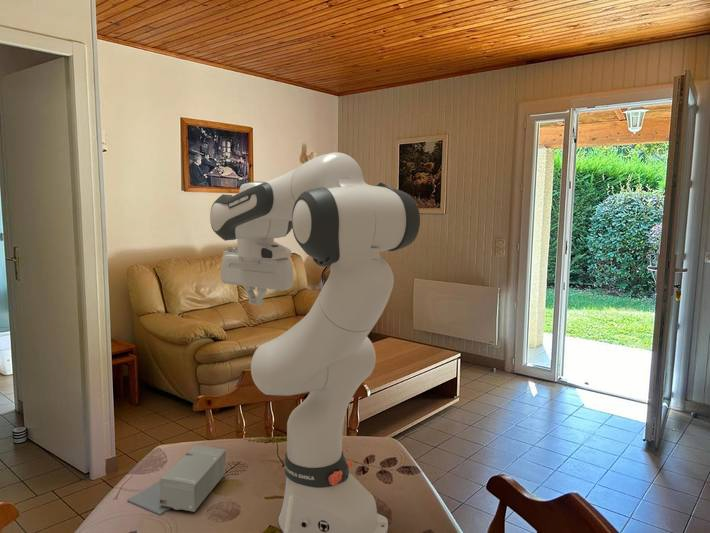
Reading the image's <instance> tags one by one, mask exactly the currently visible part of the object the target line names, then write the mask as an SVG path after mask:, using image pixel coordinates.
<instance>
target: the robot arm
mask: <svg viewBox="0 0 710 533" xmlns="http://www.w3.org/2000/svg"><path fill="white" fill-rule="evenodd" d="M209 214H210V215H209V220H210V226H211V229H212V230H213V232H214V233H215V234H216V235H217V236H218V237H219V238H220V239H222V240H224V241H234V240H237V242H236V244H237V247H232V246H229V247H227V248H225V249H224V251H223V252H222V262H221V269H220V280H221V282H222V283H223V284H226V285H234V286H240V287H241V286H244V290H245V292H246V294H247V295H246V296H247V297H248V302H249V303H248V304H249V305H252V306H262V305H263V304H264V297H265V295H266V294H267V291H268V290H274V291H281V292H283V291H288V290H290V289H292V287H293V285H294V268H293V263H292V261H291V259H289V258H291V257H292V250H291V249H290V248H289V247H287V246H284V245H283V244H281V243H278V242H277V241H275V239H280V238H285V237H286V236H287V235H289V233H291V230H292V233H293V236H294V239H295V241H296V243H297V244H298V245H299V247H300V248H301V249H302V250H303V252H305V254H307V255H308V256H310V257H311V258H312V260H313V262H314V263H315V264H316V265H318V266H320V267H322V268H328V267H329V268H330V272H329V275H328V277H327V280H326V281H325V283H324V284H323V286H322V288H321V290H320V292H319V294H318V295H317V298H316V300H315V301H314V303H313V304H312V306H311V308H310V309H309V311H308V312H307V313H306V315H305V316H304V317H303V318H301V319H300V320H299V321H298V322H297V323H296V324H294V325H293V326H291V327H290V328H289V329H287V330H286V331H285V332H283V333H282V334H280V335H279V336H277V337H274V338H273V339H271V340H268V341H267V342H264V343H262V344H259V345H258V347H257V348H256V349H255V351H254V352H253V355H252V358H251V363H250V373H251V378H252V381H253V383H254V385H255V387H257V389H258V390H259V391H260V392H261V393H263V394H264V395H267V396H295V395H300V394H306V393H309V394H308V395H307V397H306V398H305V399H304V400H303V401H302V402H301V403H300V404H299V405H298V406H296V407H295V408H293V410H291V413H290V415H289V417H288V419H287V423H286V433H287V434H286V438H287V439H286V452H285V453H284V454H285V455H284V474H285V476H286V480H285V488H284V495H283V496H284V497H283V502H282V507H281V510H280V513H279V516H278V524H279V525H278V526H279V527H280V529H281V530H282V533H388V531H389V521H388V518H387V517H385V516H384V515H382V514H380V513H378V508H377V502H376V499H375V497H374V495H373V494H372V493H371V492H370V491H368V489H367V488H366V487H364V485H362V484H361V482H360V481H359V480H358V479H356V477H355V476H354V475H353V474H352V473H350V468H351V467H353V465H354V463H353V461H354V459H351V460H349V461H348V462H347V460H346V457H345V454H344V451H343V450H342V448H343V447H342V446H343V432H344V423H345V416H346V413H347V409H348V407H349V405H350V402H351V401H352V398H353V397H354V395H355V393H356V392H357V390H358V388H359V387H360V386H361V385H362V383H363V382H364V381H366V380H367V379H368V378H369V377H370V376H371V375H372V373H373V371H374V369H375V366H376V361H377V360H376V357H377V356H376V355H377V354H376V349H375V346H374V345H373V341H371V339H370V338H369V337H368V336H369V334H370V333H371V331H372V330H373V328H374V327H375V325H376V324H377V323H378V321H379V319H380V317H381V316H382V314H383V313H384V310H385V308H386V306H387V304H388V302H389V299H390V297H391V294H392V291H393V289H394V288H393V287H394V283H395V282H394V280H395V279H394V278H395V276H394V273H393V271H392V267H391V266H390V264H389V263H388V262H387V261H386V260H385V259H384V258H383V257H382V256H381V254H380V253H381V252H386V251H387V252H394V251H399V250H401V249H404V248H406V247H408V246H410V245H411V244H412V243H414V241H415V240H416V239H417V236H418V234H419V230H420V227H421V215H420V210H419V207H418V205H417V202H416V201H415V199H414V198H413V197H412V196H411V195H410V194H409V193H408V192H405V191H403V190H400V189H398V188H397V189H396V188H395V187H391V186H389V185H388V184H386V183H384V182H379V183H378V184H377V185H370V184H368V183H366V182H365V179H364V174H363V170H362V169H361V166H360V165H359V163H358V162H357V161H356V160H355V158H353V157H351V155H348V154H346V153H343V152H329V153H325V154H321V155H318V156H316V157H312V158H311V159H310V160H307V161H305V162H304V163H302V164H301V165H299V166H297V167H296V168H294V169H292V170H290V171H288V172H286V173H284V174H282V175H279V176H277V177H275V178H272V179H270V180H268V181H248V182H244V183H243V184H241V185H240V187H239V190H238V193H237V194H234V195H233V194H222V195H220V196H219V197H217V199H215V200H214V202H213V203H212V205H211V208H210V213H209ZM254 290H256V292H258V293H257V296H256V294H255V291H254Z"/></svg>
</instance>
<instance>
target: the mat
mask: <svg viewBox="0 0 710 533" xmlns="http://www.w3.org/2000/svg"><path fill="white" fill-rule="evenodd" d="M126 500H127V502H128V503H130V504H133V505H135V506H137V505H138V506H137V507H139V506H140V507H139V508H141V507H142V508H141V509H144V510H146V511H149V512H151V513H153V514H156V515H157V516H162V515H163V514H165V513H166V512H168V511H170V510H171V509H173V508H172V507H166V506H161V505H159V503H160V480H159V481H158V482H156V483H154V484H152V485H150V486H149V487H146V488H145V489H143V490H142V491H140V492H138V493H136V494H135V495H133V496H132V497H129V498H128V499H126Z"/></svg>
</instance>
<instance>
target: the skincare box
mask: <svg viewBox="0 0 710 533" xmlns="http://www.w3.org/2000/svg"><path fill="white" fill-rule="evenodd" d="M226 454H227V450H226V449H221V448H217V447H210V446H205V445H193V447H192V448H191V449H190V450H189V451H187V452H186V453H185V454H184V455H182V457H181V458H180V459H179V460H178V461H177V462H176V463H175V464H174V465H173V466H172V467H170V468H169V470H168V471H167V472H165V473H164V474H163V476H161V477H160V479H159V481H160V503H159V505H161V506H166V507H172V508H171V509H174V510H176V511H179V510H183V511H189V512H194V513H195V512H196V511H197V509H198V508H199V507H200V506H201V504H202V502H204V501H205V499H206V498H207V497H208V496H209V494H211V492H212V491H213V490H214V489H215V487H216V486H217V485H218V483H219V482H220V481H221V480H222V478H223V477H224V476H225V475H226Z"/></svg>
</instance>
